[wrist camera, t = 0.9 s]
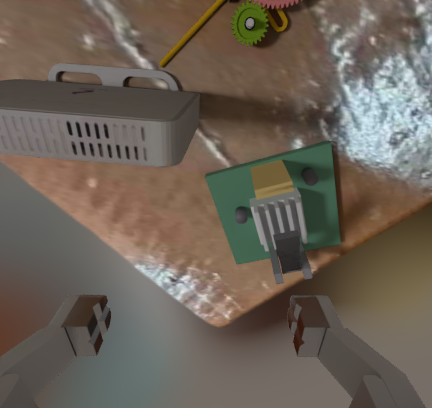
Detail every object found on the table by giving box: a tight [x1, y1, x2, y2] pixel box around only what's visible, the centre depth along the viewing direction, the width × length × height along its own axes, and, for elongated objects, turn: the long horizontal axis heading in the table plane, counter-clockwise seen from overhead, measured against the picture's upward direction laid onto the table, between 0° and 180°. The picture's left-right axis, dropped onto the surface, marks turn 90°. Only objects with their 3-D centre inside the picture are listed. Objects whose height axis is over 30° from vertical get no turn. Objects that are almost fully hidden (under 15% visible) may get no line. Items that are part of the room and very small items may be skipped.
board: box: [205, 141, 341, 284], centre depth 42 cm, size 20×20×9 cm
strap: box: [273, 230, 302, 274], centre depth 38 cm, size 3×16×1 cm
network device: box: [0, 63, 200, 167], centre depth 30 cm, size 26×9×20 cm, turn 86°
